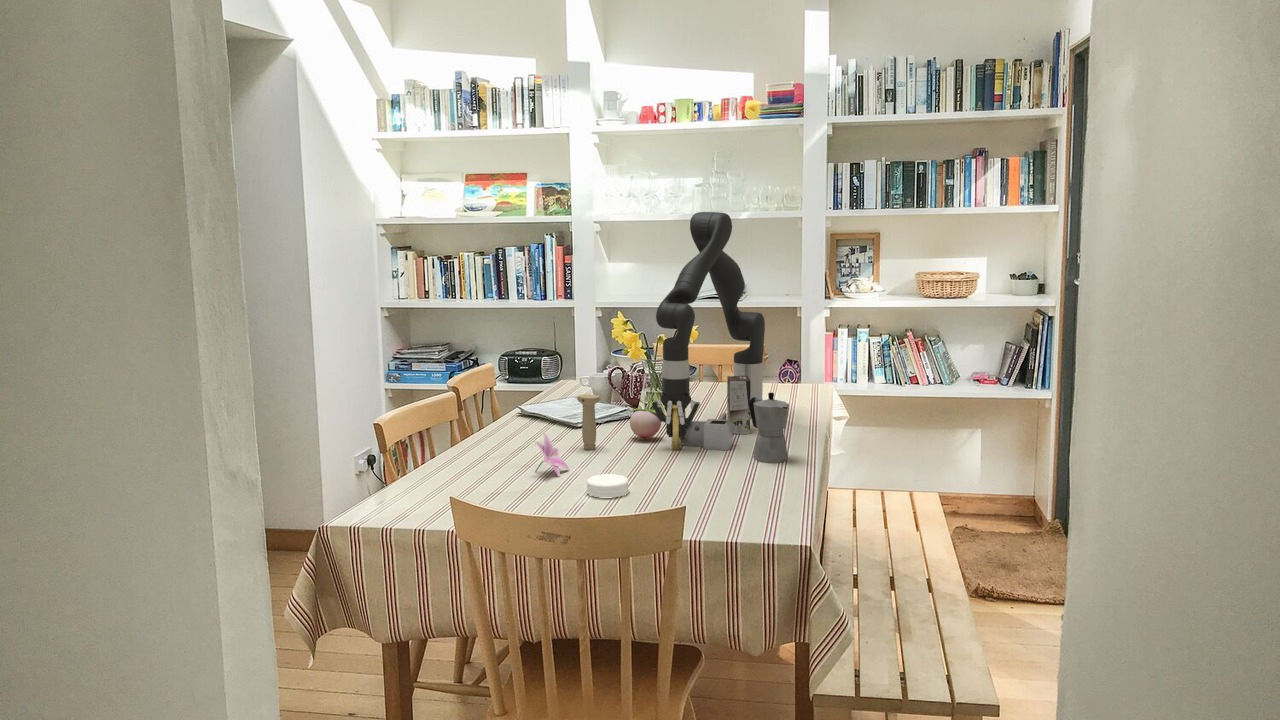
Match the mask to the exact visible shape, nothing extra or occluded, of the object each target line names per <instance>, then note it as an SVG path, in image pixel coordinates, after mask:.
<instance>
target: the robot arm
mask: <svg viewBox="0 0 1280 720" xmlns="http://www.w3.org/2000/svg"><path fill="white" fill-rule="evenodd" d="M689 229H690V230H689V231H690V234H691V238H692V240H693V243H694V245H695V247H696V249H697V250H698V252H699V253H698V254H696V256H694V257H693V258H692V259H691V260H690V261H688V262H687V263H686V264H685V265H684V266H683V268H682V269H681V270H680V273H679V275H678V277H677V280H676V281H675V284H674V286H673V288H672V289H671V290H670V292H669V293H668V294H667V295H666V296H665V297H664V298H663V300H662V301H661V303H660V304H659V305H658V307H657V309H656V313H655V321H656V323H657V325H658V326H659V327H661V328H662V329H670V330H677V332H676V334H675V336H672V337H667V338H664V340H663V342H662V364H661V367H662V368H661V381H662V382H661V384H662V385H661V387H662V388H661V391H662V393H661V396H660V399H657V400H654V401H653V402H651V406H652V407H653V408H652V409H653V410H655V412H656V414H657V416H658V418H659V420H660V421H661V423H664V424H665V425H666V426H665V427H666V428H665V429H666V435H667V436H668V438H672V424H671V415H672V413H671V412H672V411H673V408H672V404H677V407H678V413H679V417H680V423H681V424H680V438H683V437H684V436H685V434H686V423H690V422H691V421H694V420H693V419H694V418H695V416H696V413H697V411H698V409H699V407H700V406H701V403H700V401H695V400H694V399H692V397H691V394H690V362H689V345H690V339H691V335H692V331H693V329H694V325H695V320H696V314H695V310H694V308H693V307H692V305H690V304H693V303H694V302H696V300H697V299H698V296H699V295H700V294H699V293H700V292H701V289H702V287H703V284H704V282H705V280H706V277H707V275H708V273H709V276H710V280H711V282H712V285H713V288H714V290H715V293H716V295H717V297H718V300H719V303H720V306H721V308H722V312H723V315H724V318H725V323H726V326H727V330H728V332H729V335H730V337H731V339H733V340H735V341H740V342H741V341H742V342H749V345H748V347H747V348H745V349H743V350H739V351H737V352H735V353H733V376H748V377H749V379H750V381H751V386H750V400H751V399H752V397H756V398H760V399H763V381H764V380H763V378H764V377H763V373H764V371H763V369H764V366H763V364H764V363H763V361H764V351H765V331H766V322H765V318H764V317H765V316H764V315H763V313H762V312H755V311H741V310H740V309H739V306H738V303H739V301H740V299H741V298H742V296H743V294H744V291H745V285H746V283H745V278H744V276H743V274H742V273H743V272H742V270H741V267H740V266H739V264H738V263H737V262H736V261H735V260H734V259H733V258H732V257H731V256H730V255H729V254H728V253H726V252H725V251H724V249H725V248H726V245H727V244H728V242H729V240H730V238H731V235H732V230H733V221H732V219H731V216H730V215H729V214H728V213H725V212H718V211H717V212H715V211H700V212H696V213H693V215H692V217H691V218H690V221H689ZM662 405H663V406H664V407H665V409H666V416H665V413H664V411H663V410H662ZM689 405H690V409H691V410H690V412H689V415H688V417H686V416H687V415H686V413H687V412H686V409H687V407H688V406H689ZM750 419H752V418H751V414H750Z"/></svg>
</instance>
